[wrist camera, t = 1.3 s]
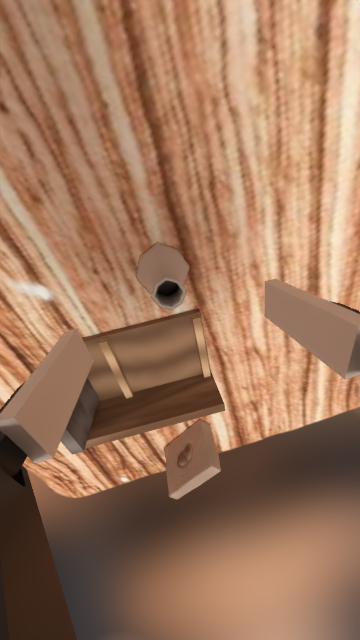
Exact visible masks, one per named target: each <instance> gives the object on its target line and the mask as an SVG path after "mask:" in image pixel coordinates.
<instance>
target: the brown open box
mask: <svg viewBox="0 0 360 640" xmlns="http://www.w3.org/2000/svg"><path fill="white" fill-rule="evenodd" d="M82 339H83V341H84V343H85V345H86V347H87V349H88V350H89V352H90V354H91V356H92V358H93V360H94V362H93V364H92V367H91V369H90V371H89V374H88V376H87V379H86V381H85V383H84V386H83V388H82V391H81V393H80V395H79V398H78V400H77V403H76V405H75V407H74V410H73V412H72V415H71V417H70V419H69V422H68V424H67V427H66V429H65V432H64V434H63V436H62V439H61V442H62V443H63V444H64V445H65V447H66V448H67V449H68V450H69V451H70V452H71V453H72V454H75V453H79V452H83V451H84V449H85V448H89V447H92V446H96V445H100V444H103V443H107V442H111V441H115V440H118V439H122V438H126V437H129V436H133V435H137V434H140V433H144V432H148V431H151V430H155V429H159V428H163V427H166V426H170V425H174V424H177V423H181V422H185V421H188V420H192V419H196V418H199V417H203V416H207V415H211V414H214V413H218V412H222V411H225V406H224V402H223V400H222V397H221V395H220V393H219V390H218V388H217V385H216V383H215V381H214V378H213V376H212V373H211V370H210V364H209V358H208V353H207V347H206V341H205V336H204V330H203V324H202V319H201V313H200V310H199V309H196V310H192V311H188V312H184V313H180V314H176V315H172V316H168V317H164V318H160V319H156V320H152V321H148V322H144V323H140V324H136V325H132V326H129V327H125V328H121V329H117V330H113V331H109V332H105V333H101V334H97V335H93V336H89V337H85V338H82Z"/></svg>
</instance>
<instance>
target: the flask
mask: <svg viewBox="0 0 360 640" xmlns="http://www.w3.org/2000/svg"><path fill="white" fill-rule="evenodd" d="M189 268H190V266H189V264H188V263H187V261H186V260H185V259H184V257H183V256H182V254H181V253H180V251H179V250H178V249H176V248H173V247H170V246H167V245H164V244H161V243H158V242H157V243H156V244H155V245H153V246H152V247H151V248H150V249H148V250H147V251H146V252H145V253H143V254H142V255H141V256H140V259H139V264H138V269H137V273H136V278H137V279H138V280H139V281H140V282H141V284H142V285H143V286H144V287H145V288H146V290H147V291H148V292H149V293H152V296H151V298H152V299H153V300H154V301H155V302H156V304H157V305H158V306H159V307H160V308H164V309H169V310H173V309H175V308H176V307H178V306H179V305H180V304H182V303H183V300H184V297H185V294H186V291H187V290H186V289H185V287H184V283H185V280H186V277H187V274H188V271H189Z"/></svg>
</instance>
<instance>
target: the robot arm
mask: <svg viewBox="0 0 360 640" xmlns="http://www.w3.org/2000/svg"><path fill="white" fill-rule="evenodd" d="M265 317H266V318H268V319H269V320H270V321H271V322H273V323H274V324H275V325H276V326H278V327H279V328H280V329H282V330H283V331H284V332H285V333H287V334H288V335H289V336H290V337H292V338H293V339H294V340H296V341H297V342H298V343H299V344H301V345H302V346H303V347H304V348H306V349H307V350H308V351H310V352H311V353H312V354H313V355H315V356H316V357H317V358H318V359H320V360H321V361H322V362H324V363H325V364H326V365H327V366H329V367H330V368H331V369H332V370H334V371H335V372H336V373H338V374H339V375H340V376H341V377H343V378H344V379H347V378H351V377H354V376H358V375H360V312H359V311H358V310H355V309H353V308H352V309H351V308H350V307H348V306H345V305H343V304H340V303H335V302H330V301H327V300H325V299H322V298H320V297H318V296H315V295H313V294H311V293H308V292H306V291H303V290H301V289H299V288H296V287H294V286H291V285H289V284H287V283H284V282H282V281H280V280H277V279H272V280H268V281H265ZM93 362H94V360H93V358H92V356H91V354H90V352H89V350H88V349H87V347H86V345H85V343H84V341H83V339H82V337H81V336H80V334H79V332H78V330H77V329H75V330H71V331H67V332H65V333H64V334H63V336H62V337H61V338H60V339H59V341H58V342H57V343H56V344H55V346H54V347H53V348H52V349H51V351H50V352H49V353H48V354H47V356H46V357H45V358H44V359H43V361H42V362H41V363H40V364H39V366H38V367H37V368H36V369H35V371H34V372H33V373H32V375H31V376H30V377H29V378H28V380H27V381H26V382H25V383H23V384H22V385H21V386H20V387H19V388H17V390H16V391H15V392H14V393H13V395H12V396H11V397H10V399H8V401H7V402H6V403H5V404H4V405H5V406H3V407H2V408H1V409H0V640H77V639H76V635H75V632H74V628H73V625H72V621H71V618H70V615H69V611H68V608H67V604H66V601H65V598H64V594H63V591H62V587H61V584H60V581H59V577H58V574H57V571H56V567H55V564H54V560H53V557H52V554H51V550H50V547H49V544H48V540H47V537H46V533H45V530H44V527H43V523H42V520H41V516H40V513H39V510H38V506H37V503H36V499H35V496H34V493H33V489H32V486H31V483H30V479H29V476H28V472H27V470H26V469H25V467H23V466H22V465H23V463H24V461H25V459H26V457H27V456H28V457H29V458H30V459H31V460H32V461H33V462H34V463H35V464H36V463H39V462H43V461H47V460H50V459H53V458H54V456H55V453H56V451H57V448H58V446H59V444H60V441H61V439H62V436H63V434H64V432H65V429H66V427H67V424H68V422H69V419H70V417H71V415H72V412H73V410H74V407H75V405H76V403H77V400H78V398H79V395H80V393H81V391H82V388H83V386H84V383H85V381H86V379H87V376H88V374H89V371H90V369H91V367H92V364H93Z"/></svg>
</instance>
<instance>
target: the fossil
mask: <svg viewBox="0 0 360 640" xmlns="http://www.w3.org/2000/svg"><path fill="white" fill-rule="evenodd" d="M164 451H165V457H166V471H167V481H168V489H169V496H170V497H172V498H174V499H179V498H181V497H182V496H183V495H185V494H186V493H188V492H189V491H191V490H192V489H194V488H196V487H198V486H199V485H201V484H202V483H204V482H205V481H206V480H208V479H209V478H211V477H212V476H214V475H215V474H217V473H218V472H220V471H221V470H220V462H219V456H218V452H217V449H216V445H215V442H214V438H213V435H212V432H211V428H210V425H209V423H207V422H205V421H203V420H201V419H199V420H198V421H197V422H196V423H194V424H193V425H192V426H190V427H189V428H188V429H186V430H185V431H184V432H183V433H181V434H180V435H179V436H178V437H177V438H175V439H174V440H173V441H171V443H170V444H168V445H167V446H165V448H164Z"/></svg>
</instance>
